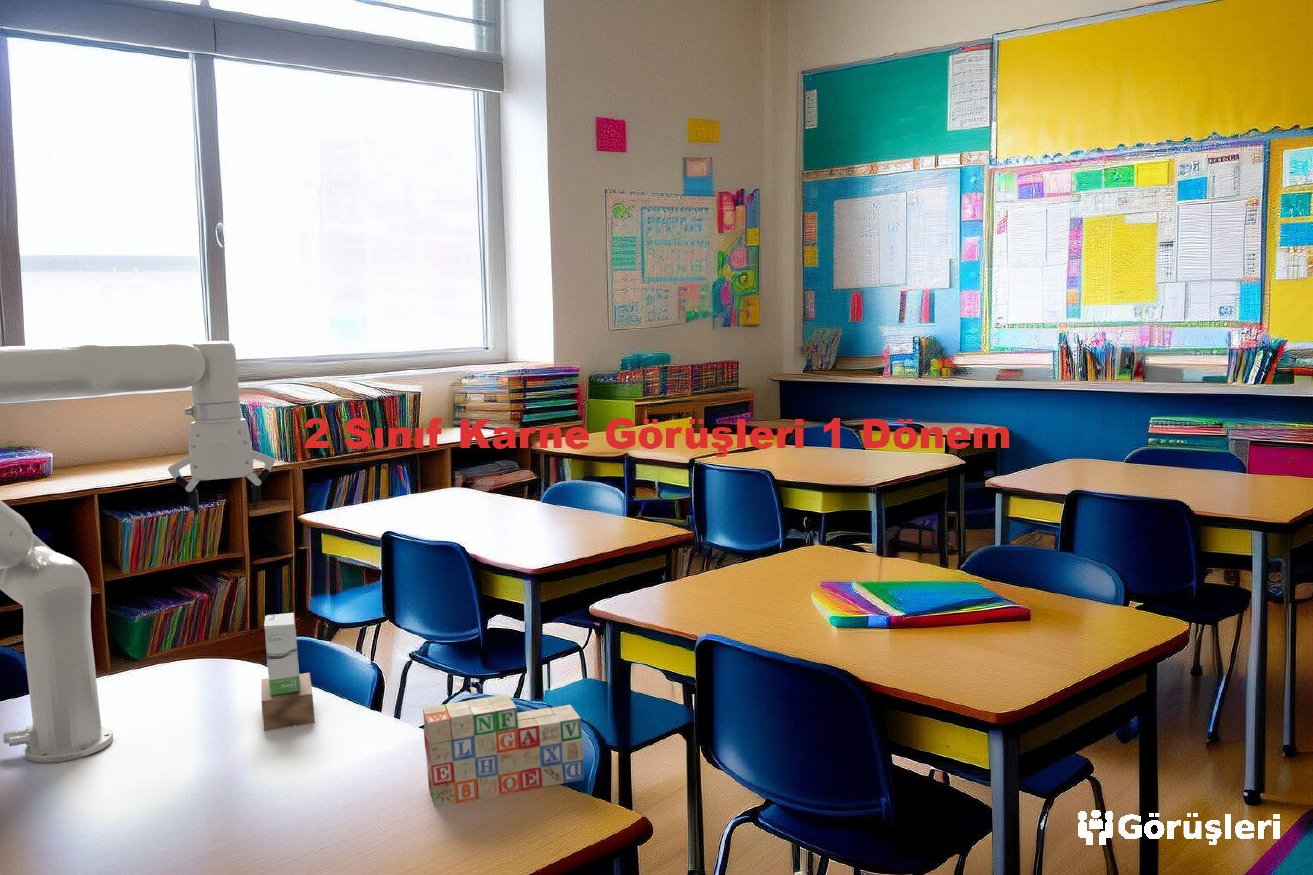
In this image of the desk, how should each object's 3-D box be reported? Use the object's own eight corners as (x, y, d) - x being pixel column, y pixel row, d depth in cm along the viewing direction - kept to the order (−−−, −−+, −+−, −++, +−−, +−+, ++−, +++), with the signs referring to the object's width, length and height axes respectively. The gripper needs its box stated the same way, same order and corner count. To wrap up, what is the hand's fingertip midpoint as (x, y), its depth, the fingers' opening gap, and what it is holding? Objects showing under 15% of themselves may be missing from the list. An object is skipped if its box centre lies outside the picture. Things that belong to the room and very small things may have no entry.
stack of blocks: (574, 764, 164) (570, 683, 163) (585, 781, 158) (580, 697, 157) (427, 789, 158) (421, 705, 156) (432, 807, 152) (426, 720, 151)
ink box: (300, 692, 186) (295, 623, 185) (269, 696, 185) (263, 627, 183) (299, 676, 194) (294, 610, 193) (269, 680, 193) (264, 614, 191)
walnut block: (264, 730, 183) (261, 701, 183) (263, 707, 195) (261, 679, 194) (314, 722, 186) (312, 693, 185) (311, 699, 197) (309, 672, 197)
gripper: (161, 418, 187) (171, 518, 189) (270, 410, 192) (278, 508, 194) (165, 414, 194) (174, 511, 196) (270, 407, 199) (278, 502, 201)
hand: (226, 510), depth 195 cm, fingers open, 9 cm apart
